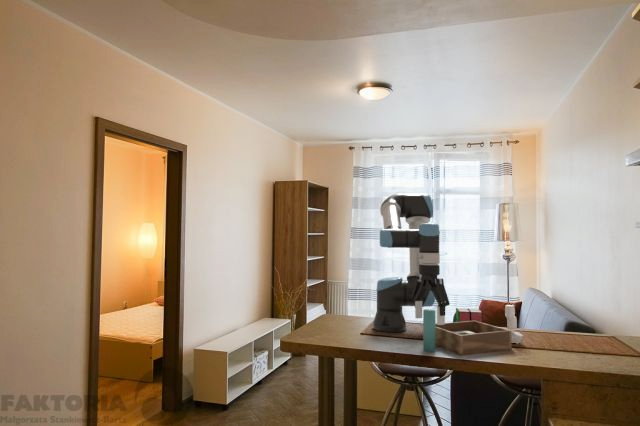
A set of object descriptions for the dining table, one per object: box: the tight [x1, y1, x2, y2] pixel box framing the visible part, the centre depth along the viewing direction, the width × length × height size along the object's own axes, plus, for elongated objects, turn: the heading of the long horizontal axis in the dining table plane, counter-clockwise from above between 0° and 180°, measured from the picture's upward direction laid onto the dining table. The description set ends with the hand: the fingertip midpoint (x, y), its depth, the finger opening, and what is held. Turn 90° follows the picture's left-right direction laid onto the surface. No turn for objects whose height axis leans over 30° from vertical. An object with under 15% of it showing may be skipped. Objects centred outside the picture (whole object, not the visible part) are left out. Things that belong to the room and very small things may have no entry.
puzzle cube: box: [455, 307, 483, 323], centre depth 190 cm, size 10×10×10 cm
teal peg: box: [422, 308, 437, 353], centre depth 160 cm, size 4×4×15 cm
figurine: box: [504, 304, 524, 345], centre depth 173 cm, size 7×9×15 cm
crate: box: [435, 321, 513, 356], centre depth 168 cm, size 20×24×7 cm
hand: (429, 321), depth 160 cm, fingers open, 13 cm apart
